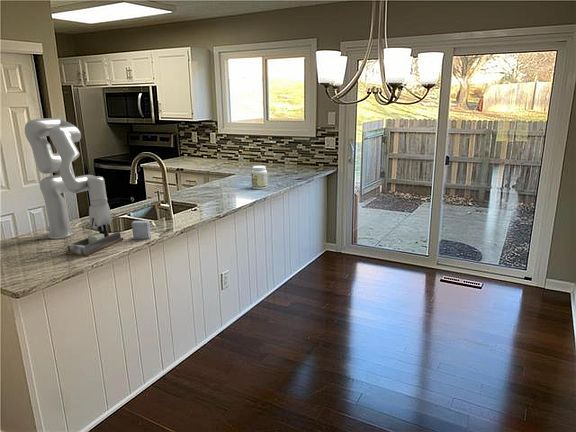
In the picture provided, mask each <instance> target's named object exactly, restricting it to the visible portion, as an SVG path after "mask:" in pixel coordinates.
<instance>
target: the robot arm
mask: <svg viewBox="0 0 576 432" xmlns="http://www.w3.org/2000/svg"><path fill="white" fill-rule="evenodd" d="M24 125H25V126H24V135H25V138H26V139H27V141H28V144H29V145H30V147H31V150H32V153H33V157H34V160H35V163H36V166H37V170H38V171H39V172H40V173H41V174H43V175H47V174H53V173H54V175H49V176H45V177H44V178H42V179H41V180H40V181H39V189H40V191H41V194H42V196H43V201H44V205H45V209H46V215H47V221H48V225H49V226H48V227H46V228H45V231H47V232H49V233H48V234H47V238H48V239H51V240H57V239H58V240H59V239H66V238H69V237H72V236H74V235H75V230H73V229H72V228H71V223H70V219H69V217H70V216H69V211H68V205H67V201H66V199H65V198H64V197H63V196H62V195H61V194H63V193H67V192H71V193H72V194H79V193H82V192H87V191H88V195H89V203H90V206H89V209H88V217H89V218H88V219H89V224H90V226H91V227H92V229H93V230H97V231H98V233H100V234H104V237H107V231H108V226H110V225H111V224H112V223H111V222H112V213H111V209H110V205H109V203H108V197H107V196H108V195H107V190H106V184H105V183H106V182H105V178H104V177H103V176H100V175H98V176H96V175H92V174H84V175H79V176H75V172H74V168H73V164H72V162H74V161H76V160H77V159H78V158H79V157H80V152H79V150H78V147H77V146H76V144H75V143H78V142H80V140H81V139H82V133H81V131H80V129H79V128H78V127H77V126H76V125H75V124H72V123H71V122H69V121H66V120H64V119H62V118H59V117H49V118H48V117H47V118H44V117H43V118H35V119H30V120H28V121H27V122H26V123H25V124H24ZM45 137H49V139H50V140H51V142H52V144H53V146H54V148H55V150H56V153H54V152H53V148H52V145H51V143H50V142H49V141H48V140H47V139H46V138H45ZM55 173H59V174H55Z"/></svg>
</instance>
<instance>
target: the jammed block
mask: <svg viewBox="0 0 576 432" xmlns="http://www.w3.org/2000/svg"><path fill="white" fill-rule="evenodd" d="M87 238H88V241H89V244H90V243H92V242H95V241H97V240H100V239H102V238H104V234H100V233H99V232H94V233H92V234H90V235H87Z"/></svg>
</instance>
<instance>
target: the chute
mask: <svg viewBox="0 0 576 432" xmlns="http://www.w3.org/2000/svg"><path fill="white" fill-rule="evenodd" d="M122 241H124V238H123V237H122V235H121V232H120V231H117V232H115V233H112V234H109V230H107V237H104V238H102V239H100V240H97V241H95V242H92V243H90V244H89V241H88V237H85V238H84V239H81V240H78V241H76V242H73V243H68V244H66V245H67V250H66V251H65V253H66V254H67V255H74V256H81V257H89V256H91V255H93V254H96V253H97V252H99V251H102V250H104V249H106V248H108V247H111V246H113V245H115V244H118V243H119V242H120V243H121V242H122Z"/></svg>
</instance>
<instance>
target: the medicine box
mask: <svg viewBox="0 0 576 432" xmlns="http://www.w3.org/2000/svg"><path fill="white" fill-rule="evenodd" d="M150 224H151V222H150V220H134V221H132V222H131V229H132V230H131V231H132V238H133V240H143V239H144V240H146V239H147V240H148V239H150V238H151V236H152V233H151V225H150Z"/></svg>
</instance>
